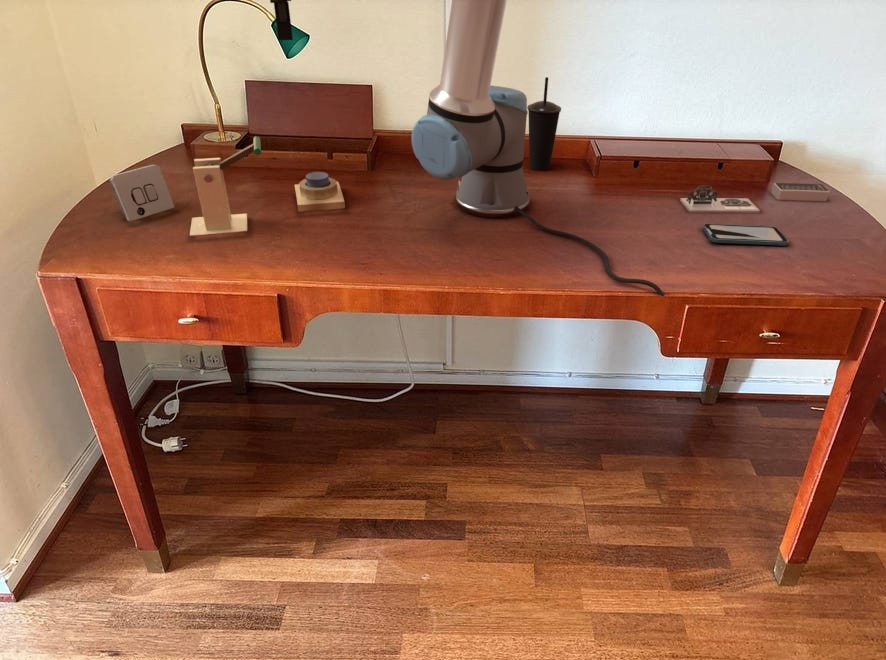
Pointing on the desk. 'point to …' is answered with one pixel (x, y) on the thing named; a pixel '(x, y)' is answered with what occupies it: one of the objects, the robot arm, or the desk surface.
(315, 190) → the button box
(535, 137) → the drinking cup
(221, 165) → the lever
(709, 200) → the car cutout
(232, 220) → the switch bracket
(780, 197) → the multiport hub
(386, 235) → the desk surface
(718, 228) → the smartphone
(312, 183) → the button
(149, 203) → the electrical switch
